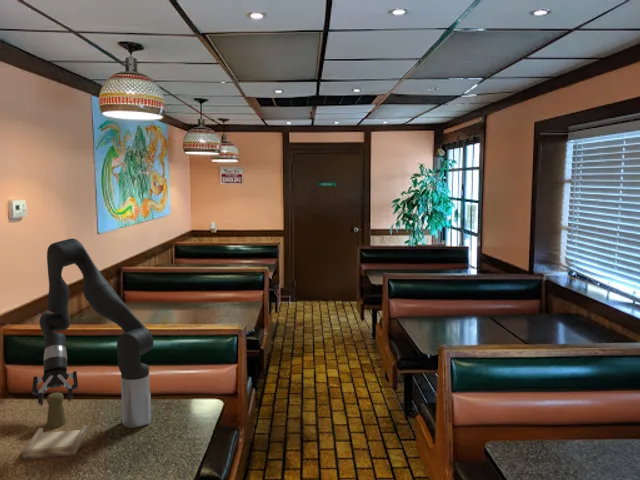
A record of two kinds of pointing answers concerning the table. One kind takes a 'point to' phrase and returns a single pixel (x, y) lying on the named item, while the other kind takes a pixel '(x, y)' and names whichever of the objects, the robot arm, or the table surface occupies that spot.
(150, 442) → the table surface
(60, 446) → the beige square tray
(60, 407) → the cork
